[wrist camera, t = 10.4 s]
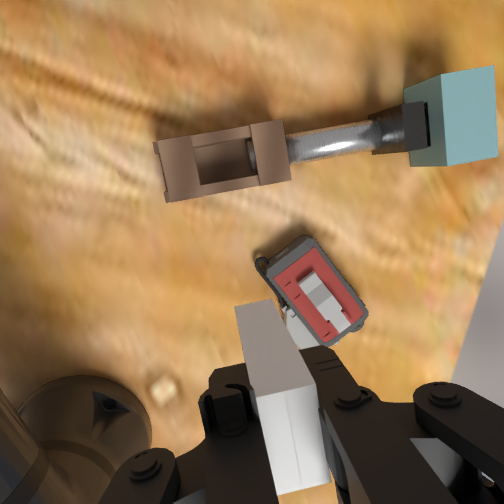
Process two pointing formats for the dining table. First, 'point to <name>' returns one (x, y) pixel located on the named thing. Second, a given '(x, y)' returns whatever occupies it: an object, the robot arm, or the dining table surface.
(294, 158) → the rod
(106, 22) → the dining table surface
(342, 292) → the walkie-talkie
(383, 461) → the robot arm
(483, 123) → the socket
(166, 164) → the sleeve
